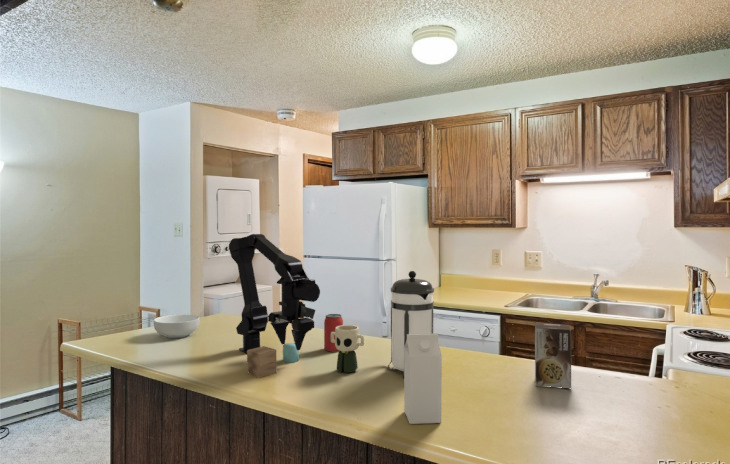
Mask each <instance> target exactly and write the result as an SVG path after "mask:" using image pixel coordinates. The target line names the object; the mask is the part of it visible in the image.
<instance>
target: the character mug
mask: <svg viewBox="0 0 730 464" xmlns="http://www.w3.org/2000/svg"><path fill="white" fill-rule="evenodd" d="M334 335H335V340H334ZM331 342H332V343H335V346H336V348H337V349H338V350H340V351H338V353H337V361H336V370H337V372H342V371H343V373H352V372H355V371H357V370H358V359H357V354H356V350H358V349H359V347H364V345H365V338H364V335H363V334H360V328H359V326H357V325H353V324H352V325H351V324H343V325H342V326H337V327H336V328H335V332H331Z"/></svg>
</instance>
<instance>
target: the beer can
mask: <svg viewBox="0 0 730 464" xmlns="http://www.w3.org/2000/svg"><path fill="white" fill-rule="evenodd" d="M342 325H344V320H343V317H342V314H340V313H339V314H338V313H328V314H325V318H324V322H323V326H324V327H323V331H324V332H323V339H324V340H323V342H324V343H323V344H324V346H323V348H324V350H325V351H326V352H329V353H330V352H331V353H332V352H333V353H336V352H339V351H340V350H338V349H337V348H336V346H335V343H332V342H331V332H335V328H336V327H337V326H342ZM334 340H335V335H334Z"/></svg>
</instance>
